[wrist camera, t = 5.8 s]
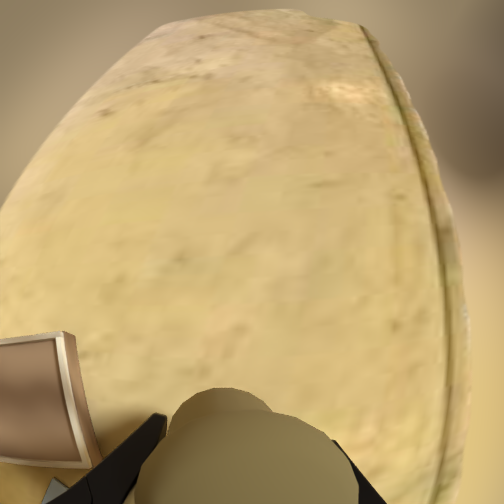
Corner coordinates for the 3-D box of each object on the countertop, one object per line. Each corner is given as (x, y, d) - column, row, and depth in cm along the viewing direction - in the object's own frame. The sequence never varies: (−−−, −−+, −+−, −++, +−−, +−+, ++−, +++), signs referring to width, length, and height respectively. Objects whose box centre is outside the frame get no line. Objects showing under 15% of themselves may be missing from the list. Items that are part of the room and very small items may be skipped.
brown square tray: (103, 461, 16) (91, 469, 13) (8, 457, 13) (-9, 461, 11) (75, 335, 19) (60, 329, 17) (-13, 346, 17) (-30, 341, 15)
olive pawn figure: (150, 460, 12) (65, 558, 2) (197, 368, 15) (173, 335, 5) (253, 502, 12) (320, 626, 2) (299, 412, 14) (438, 436, 5)
